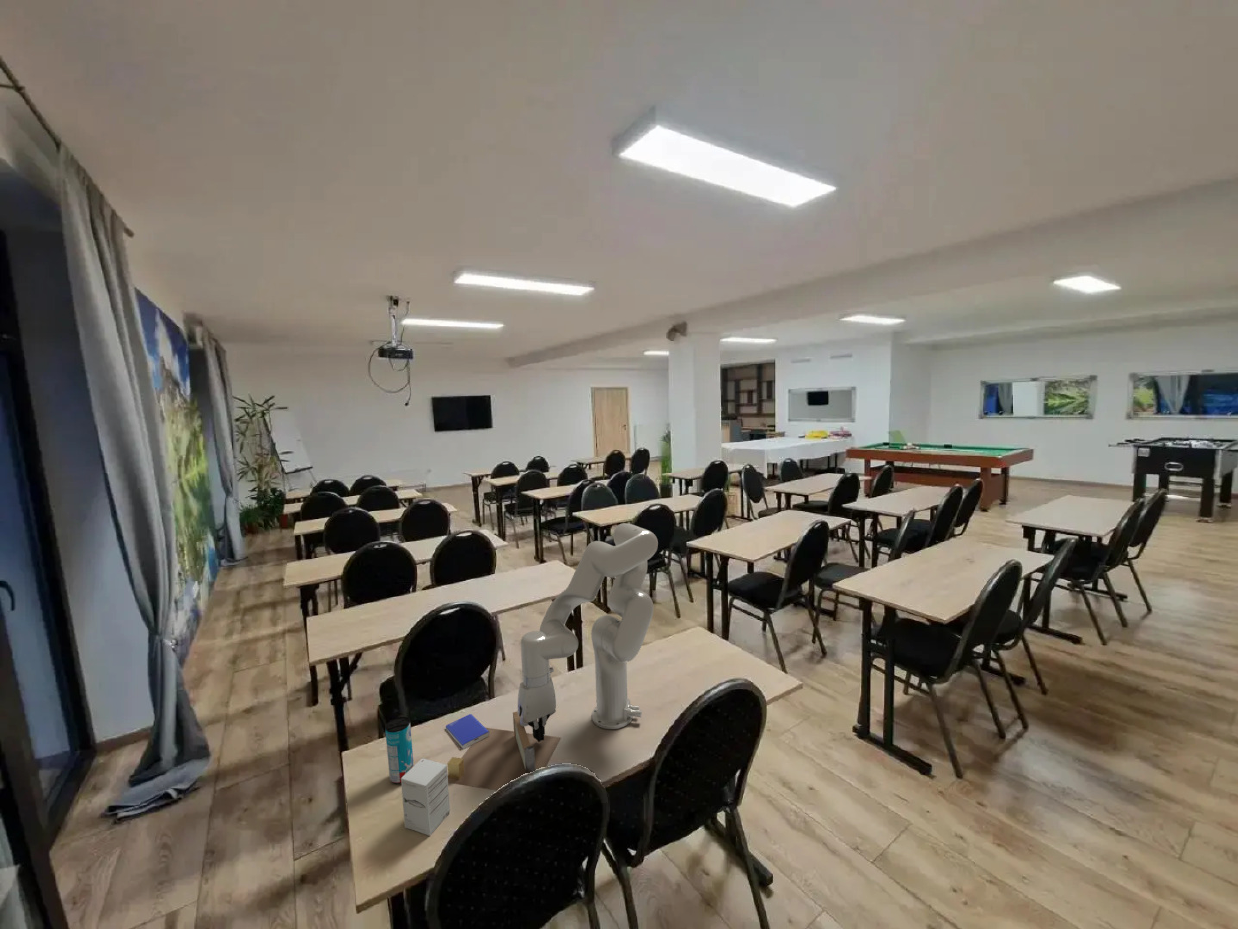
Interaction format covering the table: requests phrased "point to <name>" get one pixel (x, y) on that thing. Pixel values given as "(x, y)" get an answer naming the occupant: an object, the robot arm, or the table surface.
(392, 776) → the beverage can
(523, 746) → the brown and grey board
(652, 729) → the table surface
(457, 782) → the board
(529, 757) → the gate posts
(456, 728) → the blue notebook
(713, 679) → the table surface
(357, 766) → the table surface
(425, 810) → the supplement box
